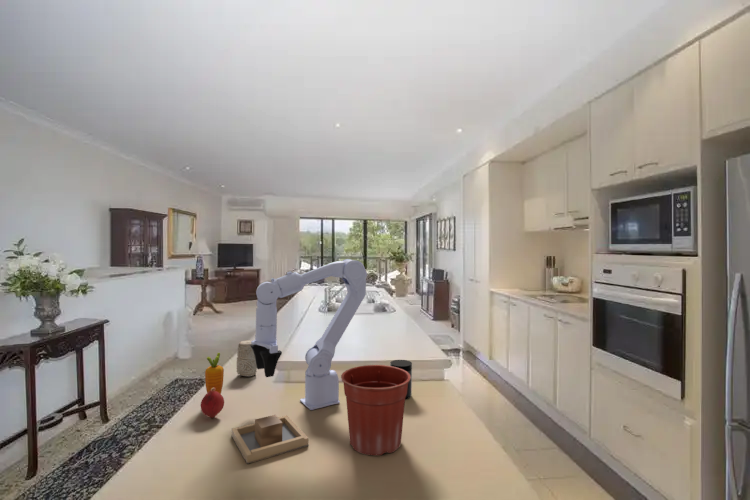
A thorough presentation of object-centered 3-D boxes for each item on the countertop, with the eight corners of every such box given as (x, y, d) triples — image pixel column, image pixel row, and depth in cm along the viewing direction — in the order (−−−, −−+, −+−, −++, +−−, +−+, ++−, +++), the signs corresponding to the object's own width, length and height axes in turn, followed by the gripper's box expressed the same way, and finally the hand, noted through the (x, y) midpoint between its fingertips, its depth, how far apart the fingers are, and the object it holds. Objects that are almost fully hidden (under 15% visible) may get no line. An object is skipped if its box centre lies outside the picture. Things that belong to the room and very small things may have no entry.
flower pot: (331, 433, 96) (332, 368, 95) (391, 421, 102) (391, 361, 102) (354, 469, 80) (355, 392, 80) (422, 452, 87) (423, 382, 87)
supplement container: (413, 400, 116) (414, 366, 116) (391, 401, 115) (392, 366, 115) (409, 391, 123) (409, 359, 123) (388, 392, 122) (388, 359, 122)
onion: (215, 423, 100) (215, 393, 100) (195, 421, 101) (195, 391, 101) (228, 414, 106) (228, 385, 105) (209, 412, 107) (209, 383, 107)
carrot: (205, 410, 108) (205, 357, 107) (204, 403, 112) (204, 352, 112) (224, 407, 110) (224, 354, 110) (222, 400, 114) (222, 350, 114)
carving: (261, 374, 138) (262, 341, 137) (242, 380, 132) (242, 345, 132) (252, 370, 142) (252, 338, 142) (233, 375, 136) (233, 342, 136)
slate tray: (286, 422, 101) (286, 413, 101) (308, 445, 89) (308, 436, 89) (231, 436, 93) (231, 427, 93) (247, 464, 82) (247, 453, 82)
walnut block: (275, 432, 95) (275, 414, 95) (282, 441, 91) (282, 422, 91) (254, 438, 92) (254, 419, 92) (261, 447, 88) (261, 427, 88)
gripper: (245, 321, 113) (244, 367, 113) (259, 331, 101) (258, 382, 101) (268, 319, 117) (267, 363, 117) (285, 328, 104) (284, 378, 105)
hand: (265, 372), depth 109 cm, fingers open, 7 cm apart
